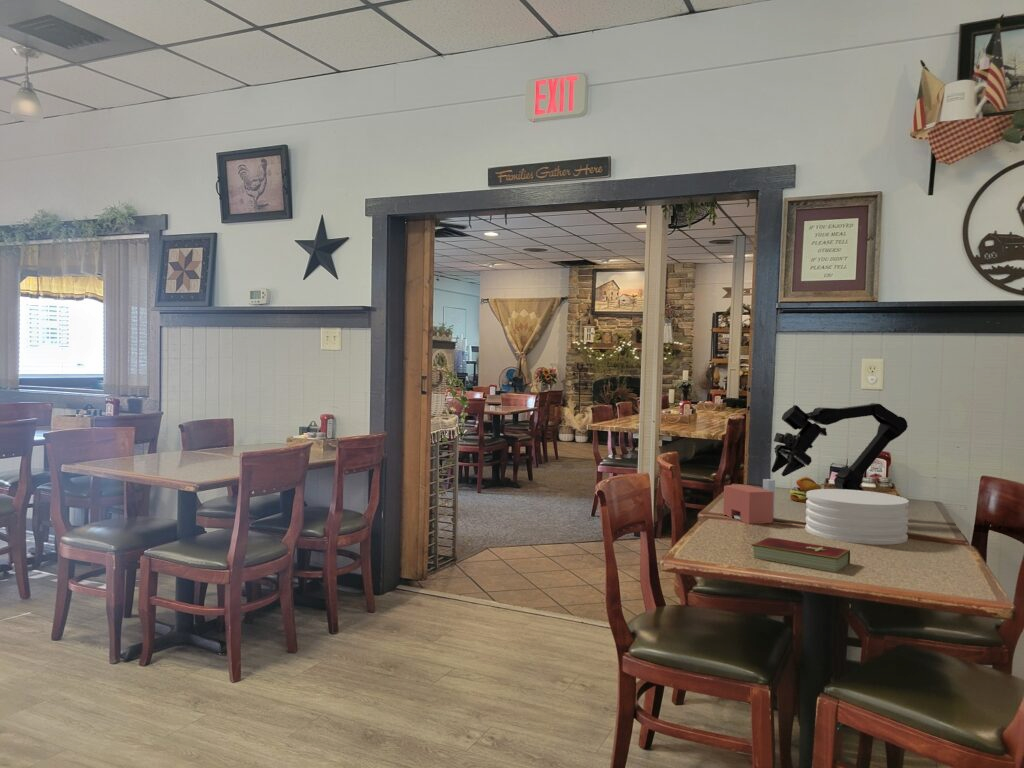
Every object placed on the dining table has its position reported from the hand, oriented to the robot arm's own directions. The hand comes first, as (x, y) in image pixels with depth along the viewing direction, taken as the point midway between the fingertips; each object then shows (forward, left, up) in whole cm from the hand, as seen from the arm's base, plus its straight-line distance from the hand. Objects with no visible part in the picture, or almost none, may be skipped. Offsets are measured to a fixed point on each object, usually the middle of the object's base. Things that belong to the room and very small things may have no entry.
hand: (777, 473), depth 255 cm
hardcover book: (-60, +32, -14) cm, 69 cm away
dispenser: (-9, +16, -14) cm, 23 cm away
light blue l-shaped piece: (-9, +14, -13) cm, 21 cm away
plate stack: (-33, -6, -14) cm, 36 cm away
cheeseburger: (+21, -26, -14) cm, 36 cm away
